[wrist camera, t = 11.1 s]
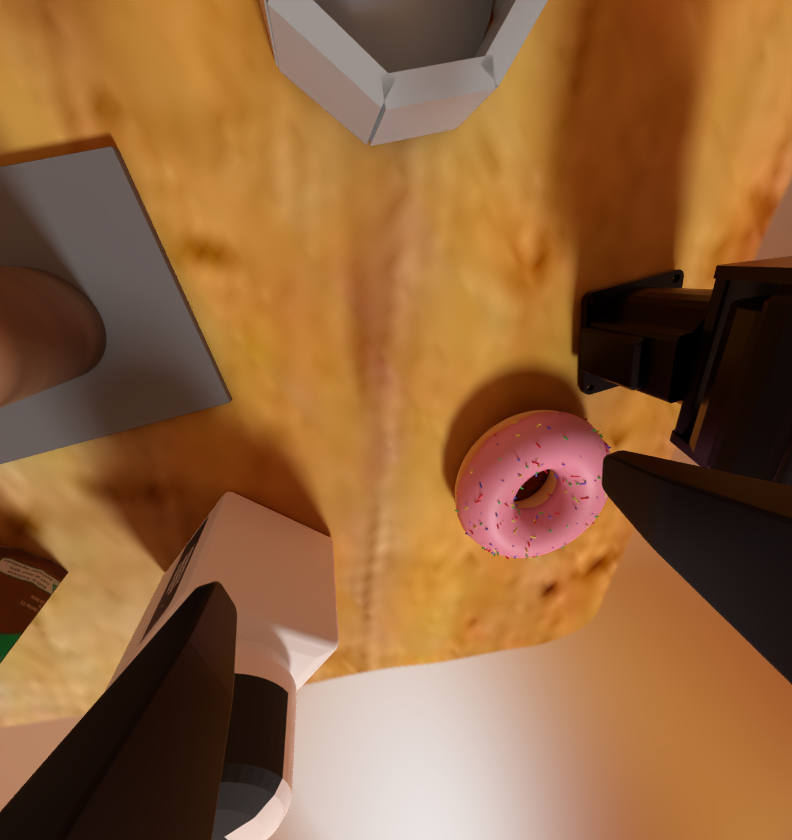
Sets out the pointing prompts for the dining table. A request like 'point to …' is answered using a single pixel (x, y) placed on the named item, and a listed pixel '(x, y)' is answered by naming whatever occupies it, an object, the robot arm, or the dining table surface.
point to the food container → (23, 592)
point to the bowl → (397, 58)
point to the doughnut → (513, 465)
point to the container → (256, 645)
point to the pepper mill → (44, 332)
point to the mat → (102, 304)
